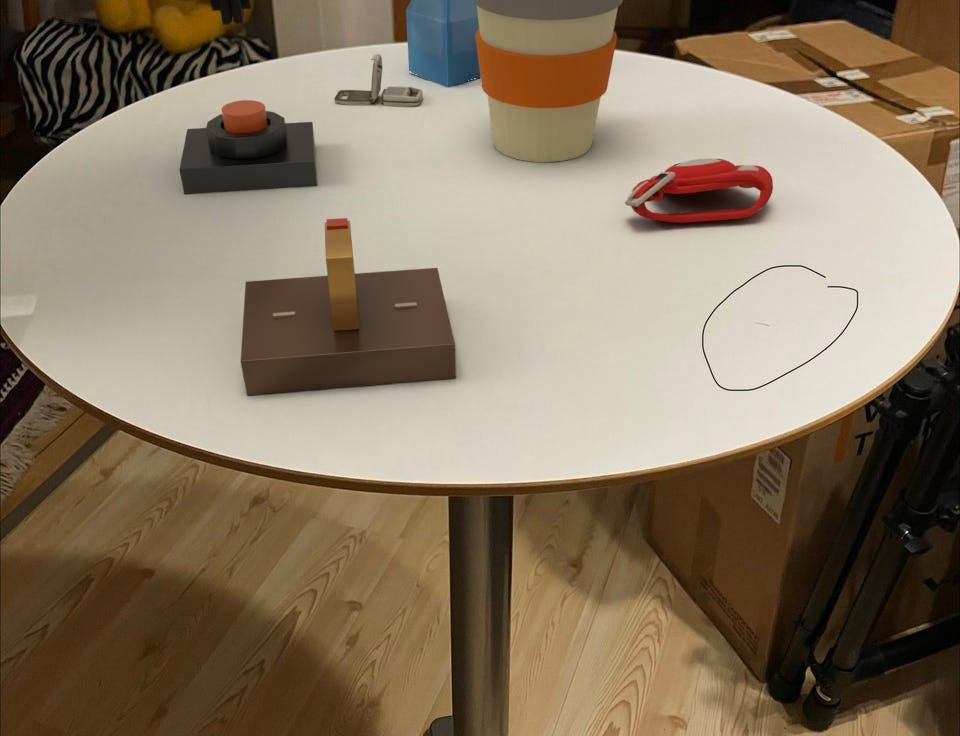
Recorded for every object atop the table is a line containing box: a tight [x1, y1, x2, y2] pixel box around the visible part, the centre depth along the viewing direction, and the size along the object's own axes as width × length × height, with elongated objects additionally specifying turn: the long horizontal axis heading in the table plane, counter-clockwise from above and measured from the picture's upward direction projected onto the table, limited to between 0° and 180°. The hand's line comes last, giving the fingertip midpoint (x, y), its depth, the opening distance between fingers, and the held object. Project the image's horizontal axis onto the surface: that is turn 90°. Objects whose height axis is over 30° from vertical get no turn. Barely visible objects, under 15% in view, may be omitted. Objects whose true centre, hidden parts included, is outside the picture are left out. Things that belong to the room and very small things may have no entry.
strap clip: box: [334, 54, 423, 108], centre depth 102 cm, size 8×3×4 cm, turn 84°
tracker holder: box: [624, 158, 774, 223], centre depth 83 cm, size 12×4×10 cm
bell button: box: [220, 99, 268, 133], centre depth 88 cm, size 4×4×2 cm
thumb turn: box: [324, 217, 359, 331], centre depth 65 cm, size 5×2×5 cm, turn 7°
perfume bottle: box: [405, 0, 481, 88], centre depth 105 cm, size 6×6×12 cm
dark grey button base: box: [179, 110, 318, 195], centre depth 89 cm, size 11×9×4 cm
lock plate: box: [240, 267, 457, 396], centre depth 68 cm, size 13×10×3 cm
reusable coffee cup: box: [473, 0, 624, 163], centre depth 90 cm, size 13×13×15 cm
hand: (233, 18), depth 83 cm, fingers closed
